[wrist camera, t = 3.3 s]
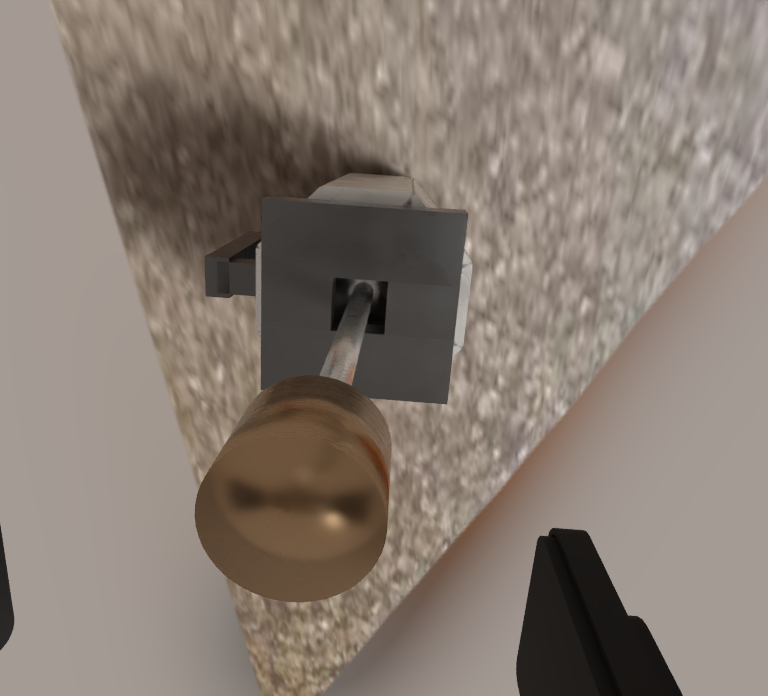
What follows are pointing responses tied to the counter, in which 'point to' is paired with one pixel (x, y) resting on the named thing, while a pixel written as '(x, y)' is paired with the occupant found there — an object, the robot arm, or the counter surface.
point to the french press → (355, 261)
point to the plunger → (305, 474)
